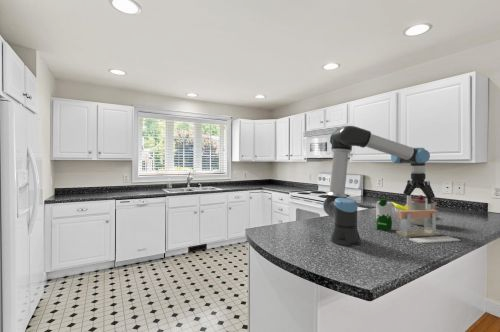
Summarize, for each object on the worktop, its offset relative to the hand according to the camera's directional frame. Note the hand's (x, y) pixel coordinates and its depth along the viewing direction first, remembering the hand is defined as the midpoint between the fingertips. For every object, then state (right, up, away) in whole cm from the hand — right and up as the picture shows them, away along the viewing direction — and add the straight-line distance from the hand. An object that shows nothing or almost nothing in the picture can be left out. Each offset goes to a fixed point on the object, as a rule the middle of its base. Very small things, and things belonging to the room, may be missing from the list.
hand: (418, 207), depth 155 cm
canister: (+20, -17, +27) cm, 37 cm away
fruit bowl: (+33, -17, +58) cm, 69 cm away
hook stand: (0, -16, 0) cm, 16 cm away
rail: (0, -6, 0) cm, 6 cm away
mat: (0, -16, -13) cm, 21 cm away
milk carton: (-15, -17, +11) cm, 25 cm away
